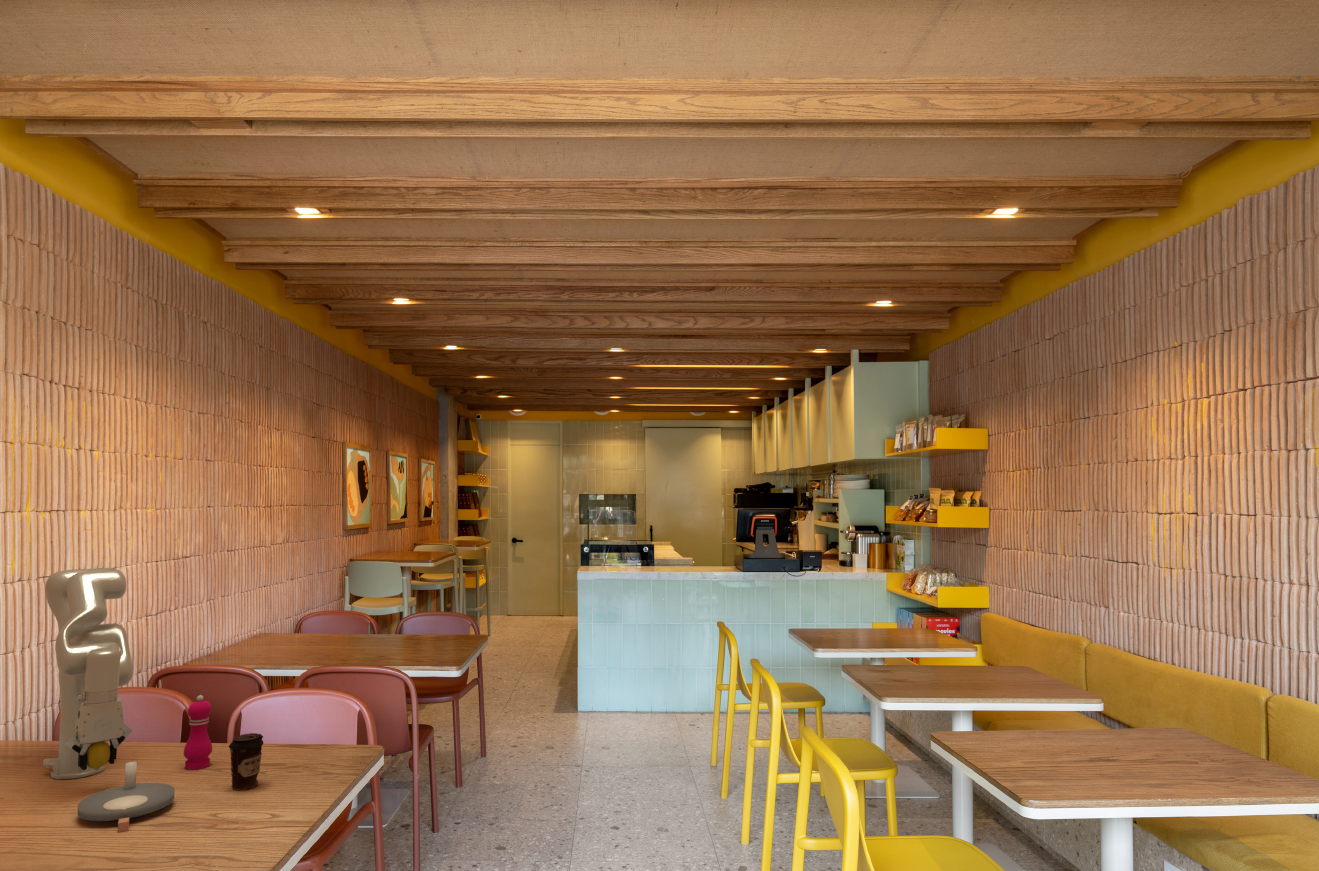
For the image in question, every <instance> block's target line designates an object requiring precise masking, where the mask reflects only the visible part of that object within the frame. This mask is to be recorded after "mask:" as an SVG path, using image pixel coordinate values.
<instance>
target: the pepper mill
mask: <svg viewBox="0 0 1319 871" xmlns="http://www.w3.org/2000/svg"><path fill="white" fill-rule="evenodd" d="M211 712H212V705H211V703H210V701H208V700H205V698H204V696H203V695H202V694H200V695H198V696H196V701H193V702H191V703H190V705H189V706H188V708H187V715H188V717H189V718H190V719H189V723H188V725H190V734H189V736H188V739H187V741H186V744H185V745H184V748H183V757H184V758H185V759H186V760H185V762H184V768H185V770H191V771H194V770H201V769H205V768H207V767H209V766H210V765H211V758H210V757H209V756H210V755H211V754H212V752H213V744H212V741H211V739H210V736H209V733H208V723H209V722H210V716H209V715H210V714H211Z"/></svg>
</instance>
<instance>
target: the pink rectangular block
mask: <svg viewBox="0 0 1319 871" xmlns="http://www.w3.org/2000/svg"><path fill="white" fill-rule="evenodd" d="M129 827H130V819H129V817H128V818H122V819H119V821H117V833H121V832H127V831H129V829H130V828H129Z"/></svg>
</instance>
